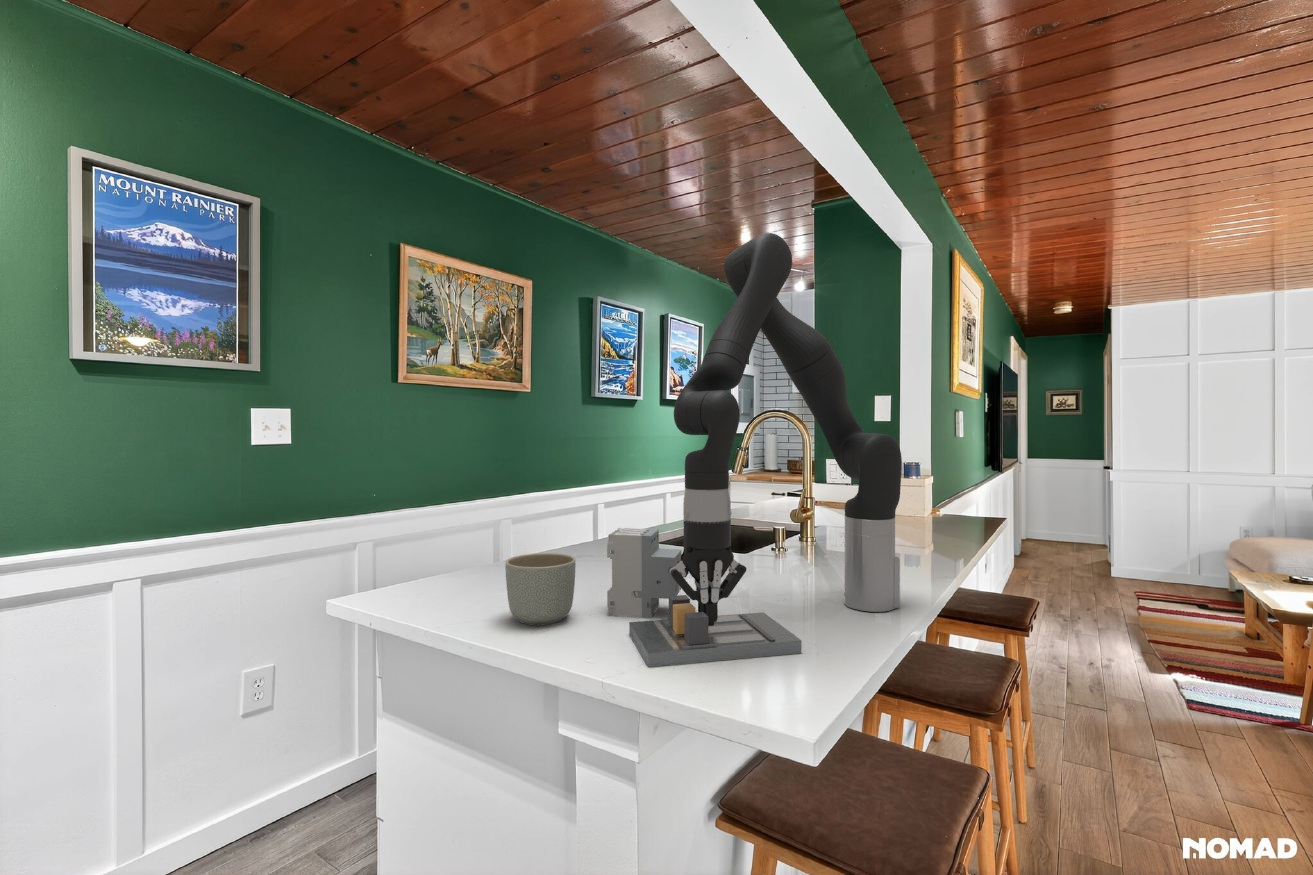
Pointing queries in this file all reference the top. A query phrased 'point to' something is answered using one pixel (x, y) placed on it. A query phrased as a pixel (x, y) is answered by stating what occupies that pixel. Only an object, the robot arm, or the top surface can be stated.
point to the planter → (540, 587)
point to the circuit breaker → (639, 572)
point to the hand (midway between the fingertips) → (707, 624)
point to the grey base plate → (714, 640)
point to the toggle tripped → (681, 616)
